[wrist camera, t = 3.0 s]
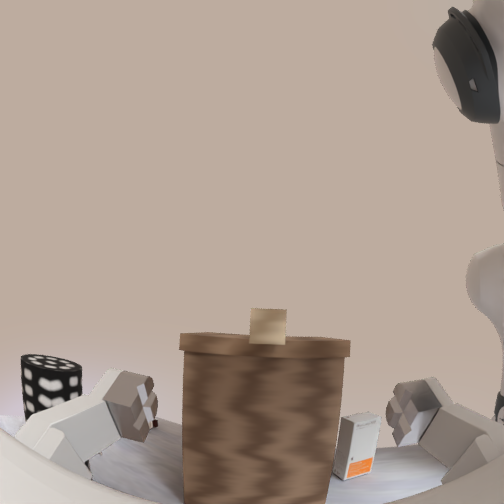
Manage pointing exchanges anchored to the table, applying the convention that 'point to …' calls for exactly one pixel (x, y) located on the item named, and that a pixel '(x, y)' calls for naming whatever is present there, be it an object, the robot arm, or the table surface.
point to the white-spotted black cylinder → (49, 383)
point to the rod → (267, 326)
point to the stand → (259, 418)
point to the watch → (153, 424)
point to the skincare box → (356, 445)
